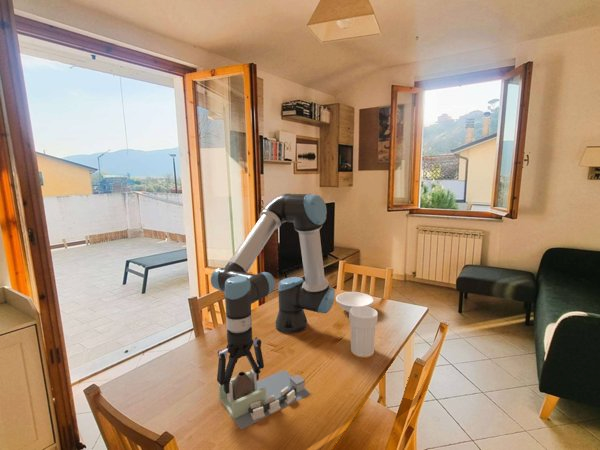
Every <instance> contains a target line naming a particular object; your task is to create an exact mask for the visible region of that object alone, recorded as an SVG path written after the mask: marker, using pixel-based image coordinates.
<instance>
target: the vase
mask: <svg viewBox="0 0 600 450" xmlns="http://www.w3.org/2000/svg"><path fill="white" fill-rule="evenodd" d="M235 377H236V376H235ZM232 390H233V399H234V400H237V399H239V398H242V397H244V396H246V395H248V394H250V393H253V390H254V387H253V382H252V380H251V379H250V377H248V376H247V375H246V372H245V371H240V372H238V374H237V377H236V378H235V379H234V381H233V383H232Z"/></svg>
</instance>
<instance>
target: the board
mask: <svg viewBox="0 0 600 450" xmlns="http://www.w3.org/2000/svg"><path fill="white" fill-rule="evenodd" d="M291 377H293V376H292V375H291V374H290V373H289V372H288V371H286V370H285V369H283V370H280V371H278V372H275V373H273V374H271V375H268V376H267V377H265V378H262V379H259V380H258V381H257V390H259V389H261V388H265V389H266V398H268V397H270V396H272V395H274V396H275V400H276V399H278V398H279V397H281V390H283V389H284V388H285V387H288V389H289V390H290V389H291V387H290V378H291ZM311 394H312V393H311V392H310V391H309V390H308V389H307V388H306V387H305V389H304V390H302V391H300V392H298V393H296V392H295V396H296V398H295V399H294V400H293V401H292V402H291V403H290V404H287V403H285V402H283V403H281V404H279V406H280V407H281V409H279V410H277V411H275V412H273V413H271V414H270V413H269V412H268V411H265V412H264V414H265V416H264V417H261V418H259V419H256V420H253V419H252V417H251V414H250V413H247V414H245V415H243V416H241V417H239V418H237V419H235V420H234V419H233V417H232V416H231V414H230V413H229V411H228V410H227V409H226V407H225V406H224V404H223V403H222V401H221V400H220V398H219V397H218V399H219V400H220V401H219V402H221V403H222V405H223V406H224V408H225V409H226V411H227V412H228V413H229V415H230V416H231V418H232V419H233V421H234V422H235V423H236V425H237V427H238V428H239V430H242V431H243V429H246V428H248V427H249V426H251V425H253V424H255V423H257V422H259V421H261V420H263V419H265V418H267V417H269V416H271V415H272V414H275V413H277V412H278V411H280V410H283V409H284V408H286V407H288V406H291V405H292V404H294V403H296V402H298V401H300V400H302V399H304V398H306V397H307V396H310V395H311Z"/></svg>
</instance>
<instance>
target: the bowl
mask: <svg viewBox="0 0 600 450" xmlns="http://www.w3.org/2000/svg"><path fill="white" fill-rule="evenodd" d="M335 301H336V304H337V305H338V306H339V307H341V308H343V310H345V312H347V313H349V310H350V309H351V308H353V307H356V306H366V307H370V308H371V307H372V305H373V303H374V297H373V296H371V295H369V294H367V293H364V292H359V291H346V292H341V293H339V294H337V295H335Z"/></svg>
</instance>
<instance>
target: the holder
mask: <svg viewBox="0 0 600 450" xmlns="http://www.w3.org/2000/svg"><path fill="white" fill-rule="evenodd" d="M245 373H246V375H247V376H248V377H250V371H246V372H245ZM236 377H237V376H234V377H231V380H230V382H231V383H233V381H234V379H235V378H236ZM250 379H251V377H250ZM219 398H220V399H219ZM218 399H219V400H221V401H222V402H221V401H220V402H221V403H223V404H224V405H223V404H222V405H223V406H224V408H225V407H226V408H225V409H226V411H227V410H228V411H229V412H228V411H227V412H228V413H230V414H231V415H230V414H229V415H230V417H231V418H232V417H233V418H232V419H233V421H234V420H235V419H237V418H239V417H241V416H243V415H245V414H247V413H249V408H250V404H251V403H254V402H257V401H260V402H261V406H263V405H265V399H266V389H265V388H261V389H259V390H257V391H255V392H254V391H253V393H250V394H248V395H246V396H244V397H242V398H239V399H237V400H234V399H233V402H232V404H230V402H229V401H228V399H227V394H226V393H225V391H224V384H223V385H220V384H219V383H218Z"/></svg>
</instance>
